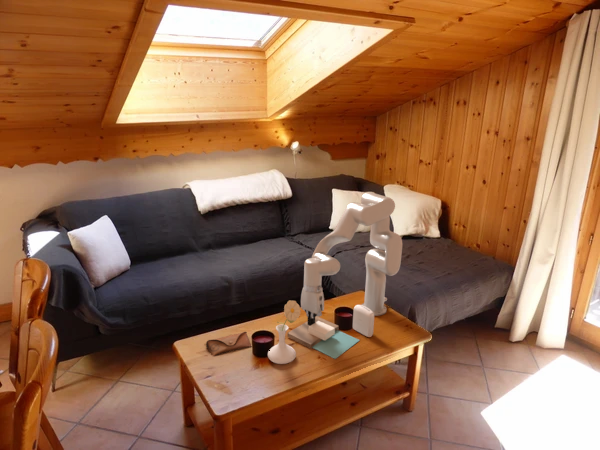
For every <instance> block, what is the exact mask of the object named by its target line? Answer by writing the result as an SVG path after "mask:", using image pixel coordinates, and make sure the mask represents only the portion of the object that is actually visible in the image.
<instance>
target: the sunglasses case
mask: <svg viewBox="0 0 600 450" xmlns="http://www.w3.org/2000/svg"><path fill="white" fill-rule="evenodd" d="M247 332H248V331H244V332H240V333H234V334H231V335H226V336H221V337H219V338H214V339H207V341H206V342H205V346H206V348H208V349H207V350H208V352H209V354H210V353H211V354H210V355H211V356H212V357H216V356H219V355H221V354H222V353H223V354H225V353H226V354H227V353H229V351H230V352H233V350H234V351H238V350H241V349H245V348H246V347H247V348H252V347H251V345H252V343H251V341H250V339H249V336H248V333H247ZM247 348H246V349H247ZM223 354H222V355H223Z"/></svg>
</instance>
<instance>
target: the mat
mask: <svg viewBox="0 0 600 450" xmlns="http://www.w3.org/2000/svg"><path fill="white" fill-rule="evenodd" d="M360 340H361V339H359V338H357V337H353V336H352V335H350V334H347V333H345V332H343V331H341V330H336V331H335V334H334V335H332V336H331V337H330V338H328V339H327V340H325V341H324V340H322V341H320V342H319V343H317V344H316V345H314V346H313V347H312V348H311V349H314V350H316V351H317V352H320V353H322V354H324V355H326V356H328V357H330V358H332V359H334V360H336V359H338V358H339V357H341V356H342V355H343V354H344V353H345V352H347V351H348V350H349V349H350V348H352V347H353V346H355V345H356V344H357V343H359V342H360Z"/></svg>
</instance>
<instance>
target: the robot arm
mask: <svg viewBox="0 0 600 450" xmlns="http://www.w3.org/2000/svg"><path fill="white" fill-rule="evenodd" d="M360 202H361V203H359V202H350V203H348V205H346V207H345V209H344V211H343V212H342V215H341V217H340V219H339V220H338V221H337V225H336V226H335V228H334V230H333V231H332V232H329V234H327V235H326V236H324V237H323V238H322V239H321V240H320V241H319V242H318V243H317V245H316V247H315V249H314V250H313V253H312V255H311V257H310V258H307V259H306V260H305V261H304V265H303V266H304V267H303V268H304V269H303V287H302V290H301V294H300V308H301V310H303V311H304V312H305V313H306V317H307V321H308V325H309V326H311V325H312V324H314V323H315V317H316V316H318V317H320V318H321V317H322V316H323V313H322V312H324V310H325V298H324V296H325V295H324V292H323V290H324V289H323V287H322V277H323V276H333V275H336V274H337V273H338V272H339V271H340V269H341V263H340V262H339V260H338V259H336V258H335V257H332V256H331V255H329V251H330V250H331V249H332V248H333V247H334V246H336V245H337V244H342V243H346V242H350V241H352V239H353V237H354V236H355V233H356V231H357V229H358V228H359V226H361V225H363V226H364V227H370V233H369V242H370V244H371V246H373V247H374V248H371V249H370V250H367V252H366V255H365V260H364V261H365V262H364V263H365V270H366V274H365V275H366V276H365V289H364V291H365V292H364V302H363V303H361V305H362V306H365V307H367V308H369V309H370V310H371V311H372V312H373V313H374V317H375V316H376V317H377V316H382V315H385V314H386V313H387V307H386V306H385V302H387V300H388V297H385V294H386V293H385V292H386V283H387V276H390V277H391V276H395V275H397V273H398V272H399V270H400V268H401V263H402V256H403V255H402V252H403V239H402V237H401V235H400V234H398V233H397V232H394V231H392V230H390V222H391V219H390V216H391V215H393V213H394V211H395V209H396V204H395V201H394V200H393V199H392V198H391V197H388V196H386V195H381V194H378V193H374V192H371V191H370V192H368V191H367V192H365V193H363V194H362V195H361V197H360ZM386 275H387V276H386Z"/></svg>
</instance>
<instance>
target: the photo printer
mask: <svg viewBox="0 0 600 450" xmlns="http://www.w3.org/2000/svg"><path fill="white" fill-rule="evenodd" d="M352 311H353V314H352V329H353V330H355V331H356V332H358V333H359V334H361V335H363V336H366V337H368V338H370V337H372V336H373V335H374V329H375V327H374V326H375V325H374V324H375V316H374V313H373V312H372V311H371V310H370V309H369V308H367V307H365V306H362V304H356V305H355V306H354V307H353V310H352Z"/></svg>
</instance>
